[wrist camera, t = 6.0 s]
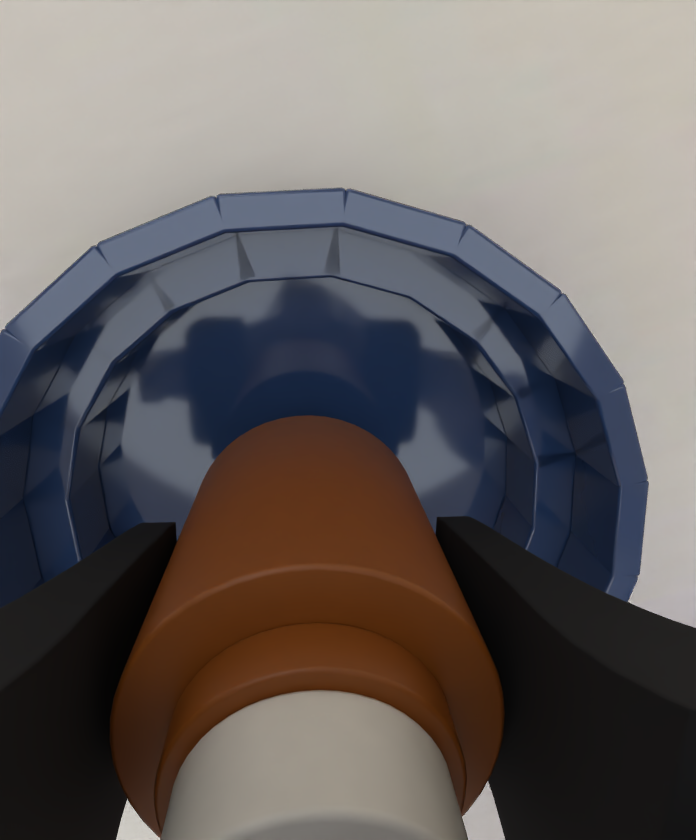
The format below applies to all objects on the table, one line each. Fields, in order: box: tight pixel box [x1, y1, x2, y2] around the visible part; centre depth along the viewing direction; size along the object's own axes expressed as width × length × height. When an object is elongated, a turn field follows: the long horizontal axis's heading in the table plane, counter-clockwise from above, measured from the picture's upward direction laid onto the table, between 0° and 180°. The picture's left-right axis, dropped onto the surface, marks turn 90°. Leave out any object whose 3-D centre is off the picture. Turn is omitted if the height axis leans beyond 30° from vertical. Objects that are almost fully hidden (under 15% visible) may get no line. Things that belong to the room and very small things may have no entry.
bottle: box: [110, 415, 505, 840], centre depth 9 cm, size 5×5×8 cm
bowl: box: [0, 188, 649, 608], centre depth 13 cm, size 13×13×4 cm
